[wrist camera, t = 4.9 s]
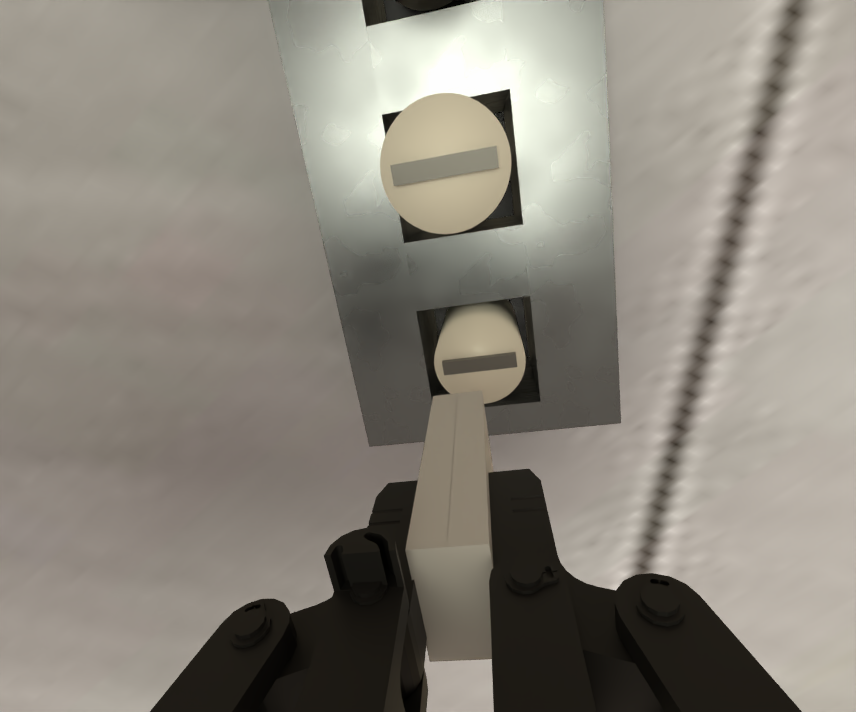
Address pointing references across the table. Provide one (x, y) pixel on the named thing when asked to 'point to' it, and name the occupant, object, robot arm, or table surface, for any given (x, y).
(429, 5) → the knob
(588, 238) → the mount
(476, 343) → the knob
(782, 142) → the table surface
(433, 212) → the knob
